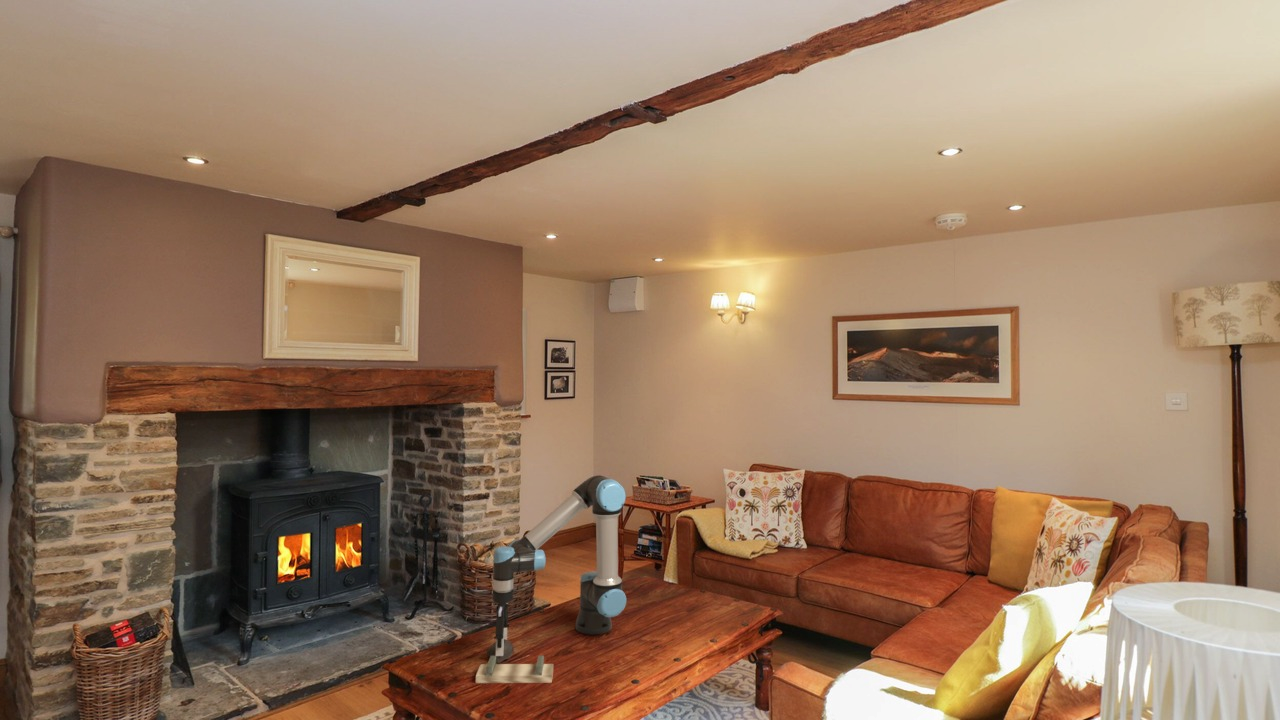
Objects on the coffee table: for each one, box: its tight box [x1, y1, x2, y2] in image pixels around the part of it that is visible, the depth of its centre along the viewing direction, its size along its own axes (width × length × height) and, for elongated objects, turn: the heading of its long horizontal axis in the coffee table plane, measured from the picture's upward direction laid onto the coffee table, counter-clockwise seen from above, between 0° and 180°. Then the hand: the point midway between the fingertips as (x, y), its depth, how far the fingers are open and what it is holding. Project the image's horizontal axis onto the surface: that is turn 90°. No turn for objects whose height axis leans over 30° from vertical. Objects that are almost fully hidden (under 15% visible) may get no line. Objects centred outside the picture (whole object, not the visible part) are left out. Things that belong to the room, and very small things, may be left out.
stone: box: [485, 639, 515, 664], centre depth 254 cm, size 10×8×10 cm
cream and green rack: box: [475, 655, 555, 684], centre depth 240 cm, size 26×9×6 cm, turn 93°
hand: (501, 650), depth 254 cm, fingers closed on stone, 8 cm apart
